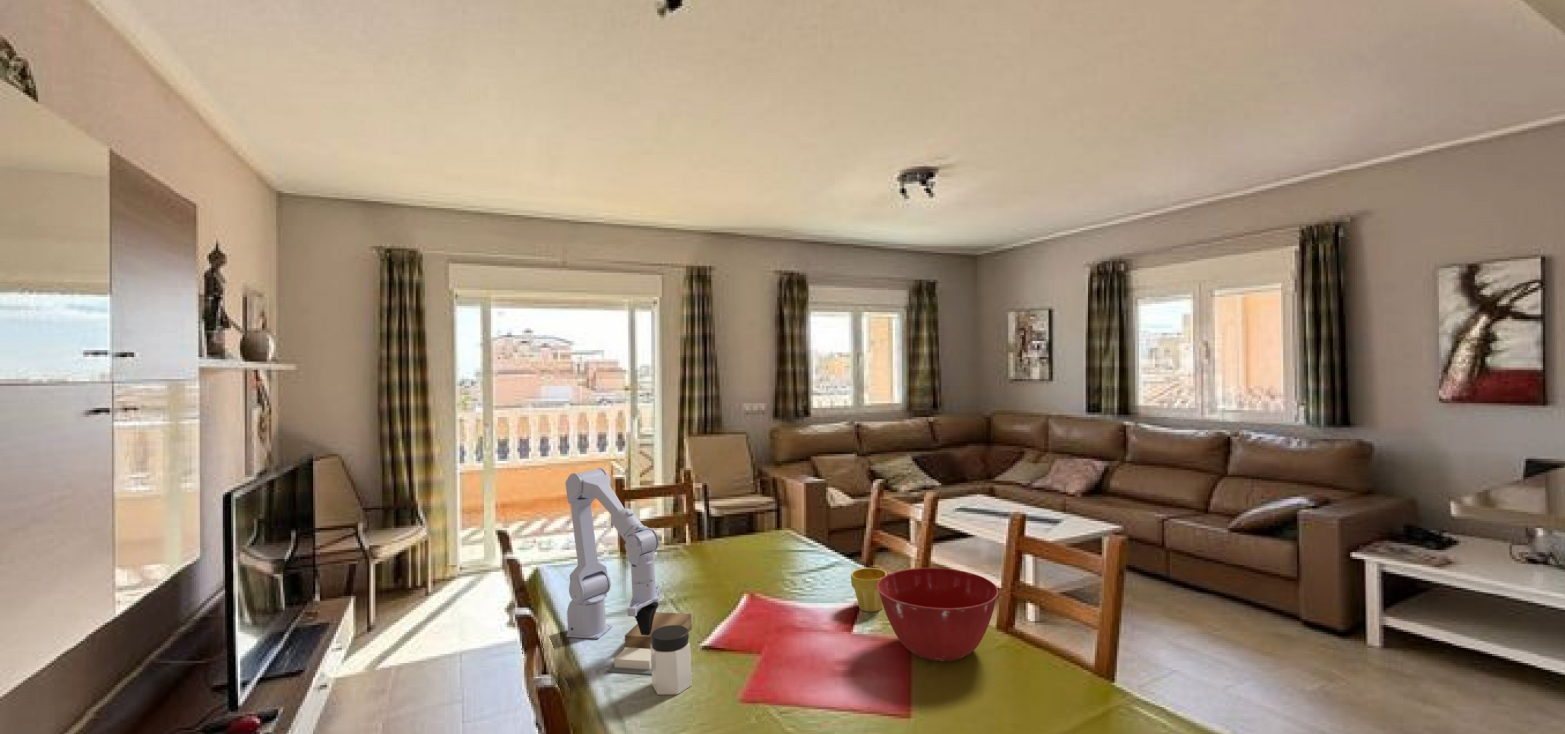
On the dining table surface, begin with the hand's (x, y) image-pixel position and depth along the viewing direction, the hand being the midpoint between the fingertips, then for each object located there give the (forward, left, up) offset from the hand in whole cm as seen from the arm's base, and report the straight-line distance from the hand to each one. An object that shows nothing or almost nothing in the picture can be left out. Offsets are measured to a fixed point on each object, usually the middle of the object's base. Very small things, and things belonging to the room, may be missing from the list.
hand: (646, 633), depth 158 cm
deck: (0, +8, -5) cm, 9 cm away
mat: (0, -5, -5) cm, 7 cm away
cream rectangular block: (0, -5, -3) cm, 6 cm away
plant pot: (+52, +35, -5) cm, 63 cm away
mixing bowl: (+71, +11, -5) cm, 72 cm away
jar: (+12, -14, -5) cm, 20 cm away
